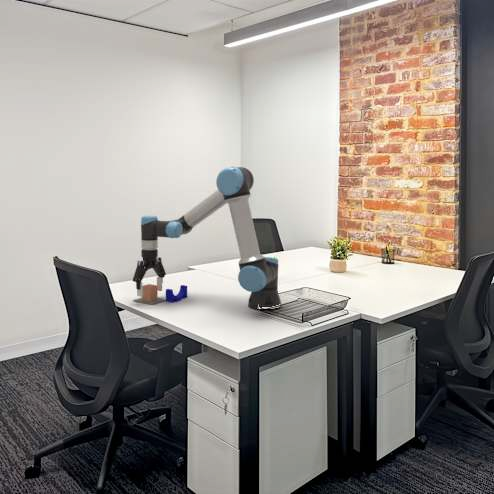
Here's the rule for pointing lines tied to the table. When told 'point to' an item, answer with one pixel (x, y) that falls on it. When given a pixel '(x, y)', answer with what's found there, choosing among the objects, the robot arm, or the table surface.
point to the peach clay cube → (150, 292)
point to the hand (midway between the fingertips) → (149, 293)
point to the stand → (150, 302)
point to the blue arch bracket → (181, 295)
